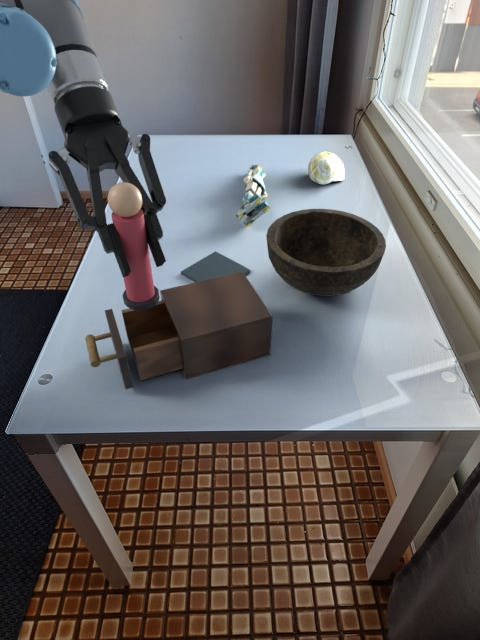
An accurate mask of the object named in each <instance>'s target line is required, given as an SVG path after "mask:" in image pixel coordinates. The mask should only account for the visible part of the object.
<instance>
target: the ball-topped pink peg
mask: <svg viewBox="0 0 480 640" xmlns="http://www.w3.org/2000/svg"><path fill="white" fill-rule="evenodd" d="M107 204H108V207H109V209H110V210H111V211H112V212H111V215H110V216H111V221H112V223H114V226H115V228H116V231H117V234H118V237H119V239H120V242H121V245H122V247H123V250H124V253H125V256H126V258H127V261H128V264H129V266H130V269H131V273H130V274H129V276H126V277H123V276H122V278H123V282H124V288H125V289H124V291H123V293H122V301H123V304H124V305H125V307H127V309H129V308H130V309H133V310H146V309H149V308H151V307H153V306H155V305H156V304H157V303H158V301H160V299H161V295H160V290H159V289H158V287H157V286H156V285H155V284H154V278H153V276H154V275H153V270H152V269H153V268H152V263H151V257H150V248H149V245H148V241H147V234H146V227H145V220H144V213H143V210H142V209H141V206H142V195H141V193H140V191H139V190H138V188H137V187H136V186H134V185H132V184H130V183H127V182H123V181H122V182H118V183H116V184H114V185H113V186H112V187H111V188H110V189H109V191H108V194H107Z"/></svg>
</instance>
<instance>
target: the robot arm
mask: <svg viewBox="0 0 480 640" xmlns="http://www.w3.org/2000/svg"><path fill="white" fill-rule="evenodd" d="M44 90H47V93H48V96H49V99H50V102H51V104H52V105H53V107H54V113H55V116H56V118H57V121H58V123H59V126H60V129H61V132H62V135H63V137H64V141H63V142H64V143H63V147H61V148H60V149H58V150H57V151H56V150H51V151H50V152H48V165H49V167H50V168H51V169H52V170H53V171H54V172H55V174H56V175H57V176H58V177H59V180H60V182H61V184H62V186H63V189H64V192H65V193H66V196H67V199H68V201H69V203H70V206H71V209H72V211H73V213H74V216H75V219H76V221H77V223H78V226H79V227H80V229H81V230H83V231H87V230H94V231H95V232H96V233H97V234H98V237H99V240H100V242H101V245H102V247H103V250H104V252H105V253H106V254H112V253H113V254H114V257H115V259H116V260H115V261H116V262H117V264H118V267H119V271H120V273H121V276H122V278H123V277H126V276H129V274H130V273H131V269H130V266H129V264H128V261H127V258H126V256H125V253H124V250H123V247H122V245H121V242H120V239H119V237H118V234H117V231H116V228H115V226H114V223H113V222H112V223H108V222H107V216H106V208H105V202H104V194H103V189H102V188H103V187H102V182H101V181H102V180H101V175H100V173H101V172H103V171H105V170H113V171H114V172H115V174H116V175H117V176H118V177H119V178H120V179H121V181H122V182H127V183H130V184H132V185H134V186H136V187H137V188H138V190H139V191H140V193H141V195H142V206H141V209H142V210H143V213H144V220H145V227H146V234H147V241H148V248H149V251H150V253H151V256H152V258H153V261H154V264H155V267H156V268H159V267H162V266H164V264H165V263H166V262H167V260H166V257H165V255H164V252H163V249H162V247H161V243H160V240H161V239H162V238H163V237H164V231H163V228H162V226H161V224H160V223H161V222H160V220H159V218H158V217H159V216H158V215H157V213H159V212H161V211H162V210H163V209H164V207H165V206H166V204H167V198H166V195H165V192H164V189H163V187H162V183H161V181H160V177H159V175H158V171H157V168H156V165H155V162H154V159H153V155H152V153H151V136H150V135H149V134H147V133H143V134H142V135H141V136H138V135H134V134H130V132H129V131H128V130H127V128H125V127H124V125H123V124H122V121H121V118H120V115H119V113H118V109H117V107H116V105H115V101H114V99H113V96H112V94H111V93H110V87H109V84H108V82H107V79H106V77H105V75H104V72H103V70H102V67H101V64H100V61H99V59H98V57H97V54H96V51H95V48H94V45H93V43H92V39H91V37H90V34H89V31H88V29H87V26H86V22H85V19H84V15H83V11H82V9H81V7H80V5H79V3H78V1H77V0H0V92H2V93H5V94H8V95H11V96H16V97H32V96H34V95H38V94H39V93H41V92H42V91H44ZM128 146H130V147H131V148H132V151H133V153H134V154H135V155H137V157H138V163H139V166H140V169H141V172H142V175H143V178H144V182H145V185H146V187H147V191H148V193H149V195H148V193H147V192H146V190H145V188H144V186H143V185H142V183H141V181H140V180H139V178H138V176H137V175H136V173H135V172H134V170H133V168H132V166H131V165H130V161H129V159H128V157H127V156H126V153H127V151H128V150H127V149H128ZM70 158H71V159H73V160H74V161H75V162H77V164H79V165H81V166H82V167H84V168H85V169H86V176H87V181H88V186H89V193H90V200H91V208H92V214H93V216H92V215H91V216H90V214H89V211H88V209H87V207H86V205H85V202H84V200H83V197H82V194H81V193H80V189H79V187H78V184H77V183H76V179H75V177H74V175H73V172H72V170H71V167H70V164H71V160H70Z"/></svg>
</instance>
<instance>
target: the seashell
mask: <svg viewBox="0 0 480 640" xmlns="http://www.w3.org/2000/svg"><path fill="white" fill-rule="evenodd" d="M307 171H308V172H307V173H308V177H309V179H310V180H311V181H312V182H314V183H315V184H318V185H328V184H330V183H332V182H342V181H344V180H345V166H344V163H343V161H342V159H341V158H340V157H339V156H338V155H337V154H335V153H333V152H331V151H321V152H318V153H317V154H315V155H313V157H311V159H310V160H309V162H308V164H307Z"/></svg>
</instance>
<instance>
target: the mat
mask: <svg viewBox="0 0 480 640" xmlns="http://www.w3.org/2000/svg"><path fill="white" fill-rule="evenodd" d="M242 271H243V273H244V274H245V276H247V275H248V274H250V273H251V271H252V270H251V269H250V268H248V267H247V266H244V265H242V264H241V263H239V262H237V261H235V260H233V259H231V258H229V257H227V256H226V255H223V254H222V253H220V252H218V251H214V252H211V253H210V254H208V255H206V256H205V257H203V258H201V259H200V260H198V261H196V262H194V263H193V264H191V265H190V266H187V267H186V268H184V269H182V270H181V271H180V275H182V276H184V277H185V278H187V279H189V280H190V281H192V282H193V283H195V282H199V281H203V280H208V279H212V278H216V277H221V276H225V275H229V274H233V273H238V272H242Z"/></svg>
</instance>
